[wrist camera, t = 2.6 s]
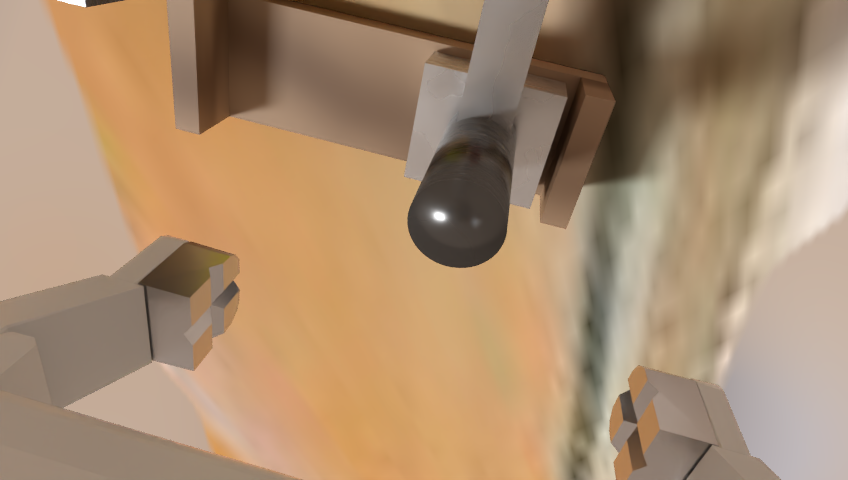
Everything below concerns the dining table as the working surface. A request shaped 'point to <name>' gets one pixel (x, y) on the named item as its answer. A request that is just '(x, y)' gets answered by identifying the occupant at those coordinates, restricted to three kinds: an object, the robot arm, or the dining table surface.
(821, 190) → the dining table surface
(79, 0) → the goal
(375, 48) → the track
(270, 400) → the dining table surface
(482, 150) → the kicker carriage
